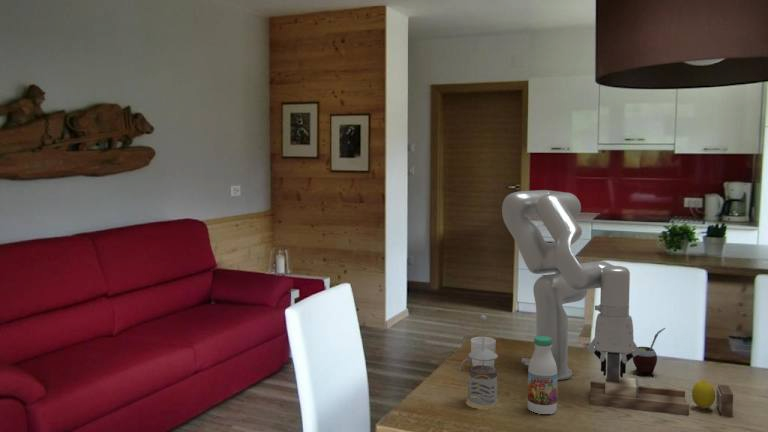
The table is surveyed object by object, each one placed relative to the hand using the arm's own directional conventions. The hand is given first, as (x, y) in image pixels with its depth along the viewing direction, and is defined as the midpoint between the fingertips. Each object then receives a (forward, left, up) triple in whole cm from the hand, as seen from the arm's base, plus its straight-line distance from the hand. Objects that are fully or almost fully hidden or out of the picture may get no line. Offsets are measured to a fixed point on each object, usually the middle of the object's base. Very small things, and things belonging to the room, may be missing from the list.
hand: (613, 374), depth 181 cm
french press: (-35, -13, -7) cm, 38 cm away
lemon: (+23, 0, -7) cm, 24 cm away
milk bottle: (-18, -13, -7) cm, 24 cm away
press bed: (+6, 0, -7) cm, 10 cm away
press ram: (+2, 0, -6) cm, 6 cm away
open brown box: (+28, 0, -7) cm, 29 cm away
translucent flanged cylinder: (-39, +14, -7) cm, 42 cm away
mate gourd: (+10, +26, -8) cm, 28 cm away
